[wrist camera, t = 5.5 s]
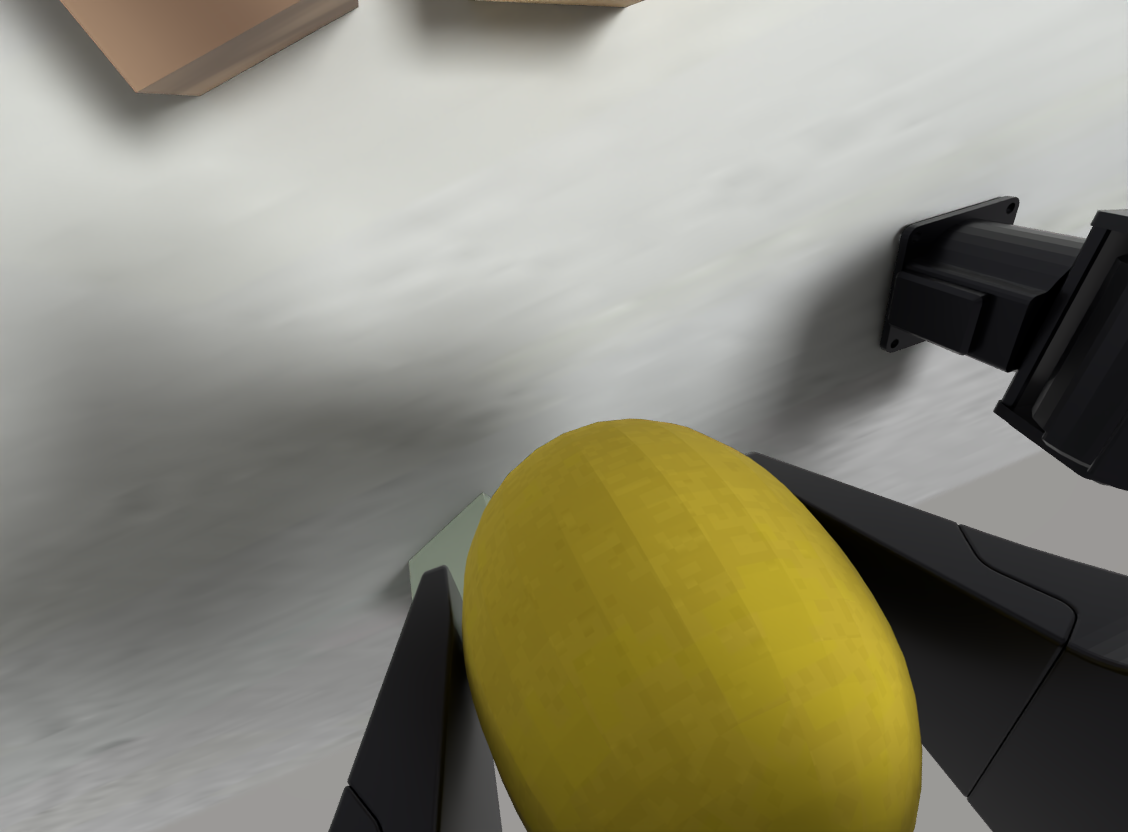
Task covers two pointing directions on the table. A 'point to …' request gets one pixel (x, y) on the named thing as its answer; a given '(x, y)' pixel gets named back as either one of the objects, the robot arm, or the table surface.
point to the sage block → (450, 546)
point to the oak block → (579, 2)
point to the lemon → (680, 647)
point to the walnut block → (197, 37)
